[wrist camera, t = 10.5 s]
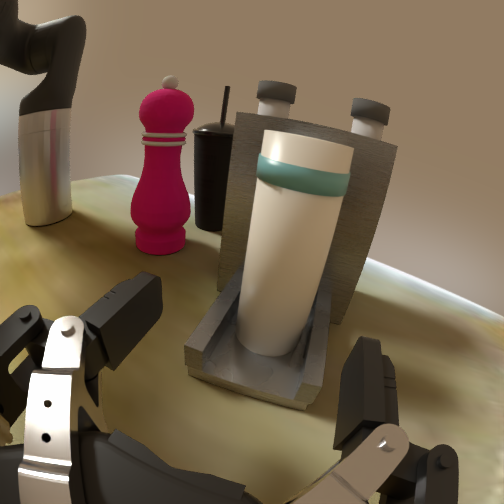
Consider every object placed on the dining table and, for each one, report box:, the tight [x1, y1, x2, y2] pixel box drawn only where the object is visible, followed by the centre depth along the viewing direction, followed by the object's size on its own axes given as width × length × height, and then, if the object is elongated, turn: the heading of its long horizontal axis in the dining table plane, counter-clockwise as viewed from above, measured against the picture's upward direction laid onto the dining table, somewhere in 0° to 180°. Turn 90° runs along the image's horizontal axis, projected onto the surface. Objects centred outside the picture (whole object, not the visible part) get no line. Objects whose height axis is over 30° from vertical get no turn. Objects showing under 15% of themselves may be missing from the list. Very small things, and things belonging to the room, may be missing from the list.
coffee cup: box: [235, 130, 354, 357], centre depth 17 cm, size 5×5×14 cm
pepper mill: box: [131, 76, 194, 255], centre depth 28 cm, size 7×7×20 cm
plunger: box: [257, 81, 297, 119], centre depth 21 cm, size 3×3×6 cm
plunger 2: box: [351, 98, 390, 141], centre depth 19 cm, size 3×3×6 cm
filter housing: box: [184, 112, 398, 411], centre depth 19 cm, size 12×17×16 cm
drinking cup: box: [193, 86, 235, 231], centre depth 35 cm, size 8×8×20 cm
